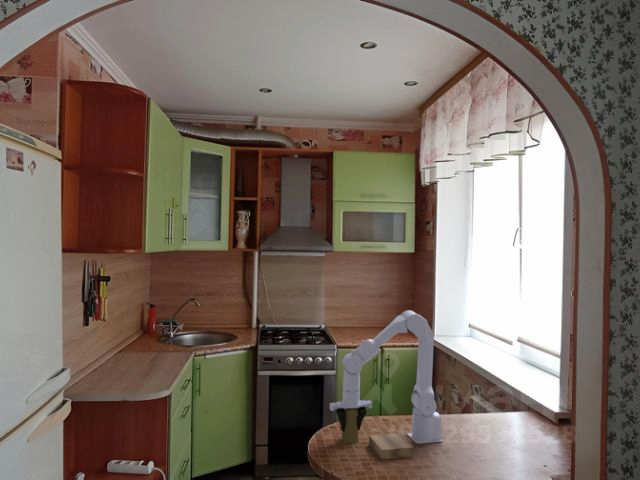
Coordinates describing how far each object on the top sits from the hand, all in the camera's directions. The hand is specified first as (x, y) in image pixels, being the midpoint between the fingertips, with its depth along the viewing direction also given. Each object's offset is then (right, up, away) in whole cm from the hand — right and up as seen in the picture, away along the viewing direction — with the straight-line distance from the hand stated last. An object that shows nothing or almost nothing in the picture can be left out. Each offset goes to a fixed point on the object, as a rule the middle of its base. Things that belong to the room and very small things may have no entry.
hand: (350, 429), depth 163 cm
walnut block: (+13, -4, -8) cm, 15 cm away
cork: (0, -4, 0) cm, 4 cm away
